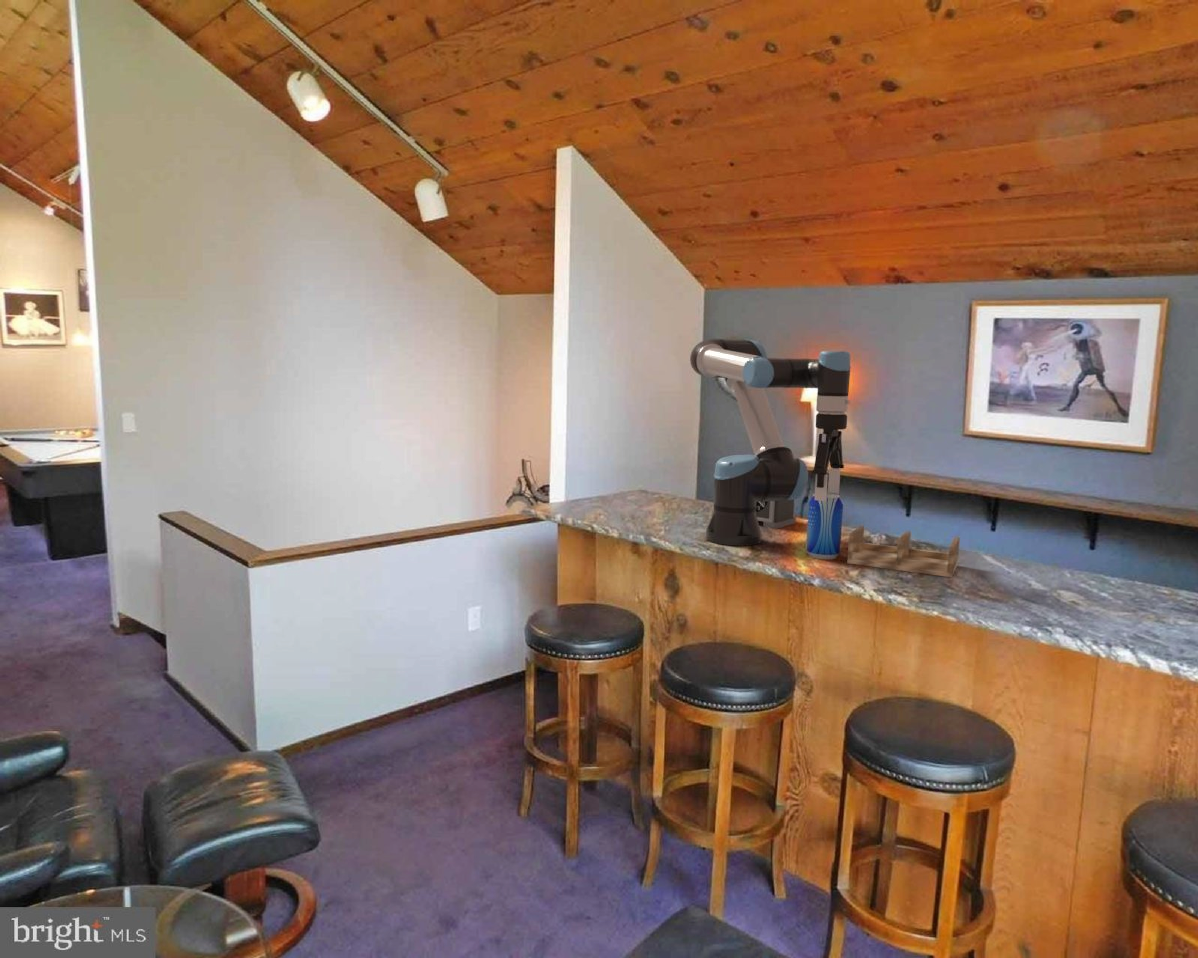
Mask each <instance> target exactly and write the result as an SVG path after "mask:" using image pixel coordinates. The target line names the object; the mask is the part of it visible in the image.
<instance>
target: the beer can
mask: <svg viewBox="0 0 1198 958" xmlns="http://www.w3.org/2000/svg"><path fill="white" fill-rule="evenodd" d="M840 497H841V496H840V495H839V494H835V493H828V492H827V495H826V501H819V500H814V499H815V493H813V494H812V497H811V499H810V501H809V502H808V513H807V514H808V515H807V527H806V528H807V529H806V544H805V545H806V546H805V550H806V552H807V554H808V556H809V557H810V558H813V559H816V560H817V559H818V560H835V559H837V558H838V556H839V555H840V554H841V542H842V541H841V540H842V524H843V513H844V512H843V510H844V505H843V502H842V500H841V498H840Z"/></svg>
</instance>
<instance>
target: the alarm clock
mask: <svg viewBox="0 0 1198 958" xmlns="http://www.w3.org/2000/svg"><path fill="white" fill-rule="evenodd" d="M794 508H795V499H794V500H787V501H761V502H756V516H757V520H758V522H759V521H760V522H763V524H762V526H763V527H764V528H770V529H779V528H783V527H786V526H790V525H793V524H796V521H797V518H796V517H795V516H794V510H795V509H794Z"/></svg>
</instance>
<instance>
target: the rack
mask: <svg viewBox="0 0 1198 958" xmlns="http://www.w3.org/2000/svg"><path fill="white" fill-rule="evenodd" d="M864 531H865V526H864V525H859V526H858V527H857V528H855V529H854V530H853V531H852V532H851V533H850V534H848V545H847V546H848V548H847V560H846V561H847V562H846V564H852V565H858V566H860V565H861V566H865V567H866V566H867V567H874V568H881V569H889V570H896V571H901V572H903V571H904V572H911V573H917V574H926V575H932V576H941V577H947V578H952V577H953V575H954V573H955V571H956V570H957V567H958V561H959V549H960V540H961V537H960V536H955V537H954V538H953V540H952V541H951V544H950V545H949V549H948V550H949V551H948V552H940V551H934V550H924V549H917V548H910V546H911V545H910V544H911V531H908V530H906V531H905V532H904V533H903V534H902V535H901V536H900V537H899V539H898V540H897V546H893V545H885V544H877V543H868V542H864V534H865V533H864Z"/></svg>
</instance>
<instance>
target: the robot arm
mask: <svg viewBox="0 0 1198 958" xmlns="http://www.w3.org/2000/svg"><path fill="white" fill-rule="evenodd" d="M689 356H690V357H689V358H690V359H689V361H690V366H691V368H692V369H693V371H694V372H695V373H696V374H698V375H699V376H703V377H705V378H711V379H712V378H713V379H714V378H715V379H717V378H719V379H724V381H725V384H726V387H727V388H728V389H729V390H731V391H734V392H733V393H734V396H735V399H736V401H737V404H738V408H739V411H740V414H741V418H742V420H743V423H744V426H745V428H746V432H747V435H748V439H749V442H750V444H751V447H752V451H753V454H734V455H728V456H724V457H721V458H720V459H718V460H717V461H716V463H715V468H714V474H713V479H714V484H713V487H714V488H713V508H712V509H713V510H712V511H713V512H712V514H711V517H710V519H709V522H708V525H707V528H706V530H705V531H706V532H705V539H706V540H707V541H708V542H712V543H714V544H718V545H725V546H751V545H756V544H757V545H758V544H759V543H761V541H762V532H761V527H760V525H759V521H758V520H757V516H756V502H761V501H787V500H794V501H795V500H797V499H798V498H800V497H802V495H803V494H804V492H805V490H806V489H807V484H808V479H809V471H808V466H807V464H806V462H805V461H804V460H803V459H801V458H799V457H796V458H795V457H794V454H793V452H792V449H791V447H788V446H786V445H784V442H783V439H782V437H781V434H780V430H779V428H778V425H777V422H776V419H775V416H774V414H773V411H772V408H771V405H770V401H769V399H768V396H767V393H766V390H765V388H769V389H770V388H775V389H777V388H779V389H780V388H782V389H785V388H786V389H791V388H792V389H817V394H816V407H815V409H816V411H817V412H818V413H817V414H816V415H815V428H816V429H820V430H822V431H823V432H822V433H819V434H818V443H817V449H816V453H815V454H816V455H815V461H814V466H813V469H812V475H815V480H814V481H815V482H814V483H815V484H814V494H815V499H814V500H819V501H826V495H827V493H830V494H836V495H839V494H840V481H841V469H844V468H845V465H844V462H843V447H842V446H843V445H842V443H843V441H842V434H843V433H842V430H843V431H844V430H846V429H847V427H848V415H847V414H845V413H847V412H848V407H849V405H850V404H851V401H850V400H849V390H850V379H851V378H850V377H851V353H850V352H848V351H847V350H822V351H820V353H819V357H818V358H780V357H779V358H776V357H767V352H766V350H765V348H764V346H763V345H762V344H761V343H760V342H759V341H756V340H751V339H747V338H742V339H731V338H730V339H728V338H727V339H725V338H708V339H705V340H702V341H700V342H698V343H697V344H696V345H695V346H694V347H693V349H692V350H691V352H690V355H689ZM829 465H830V467H829ZM828 467H829V468H828ZM827 471H828V472H827ZM827 473H828V474H827Z"/></svg>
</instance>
